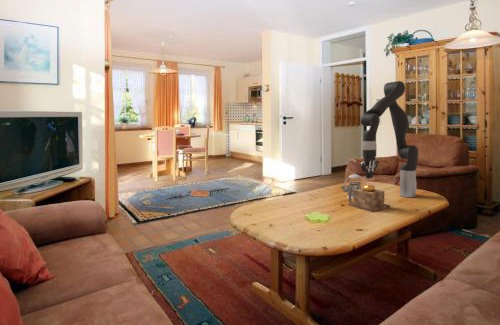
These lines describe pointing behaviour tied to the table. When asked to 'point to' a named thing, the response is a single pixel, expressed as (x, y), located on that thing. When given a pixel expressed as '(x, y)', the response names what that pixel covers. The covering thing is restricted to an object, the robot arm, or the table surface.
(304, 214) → the table surface
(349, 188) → the mechanical component
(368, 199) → the hitch block
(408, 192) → the robot arm
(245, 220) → the table surface
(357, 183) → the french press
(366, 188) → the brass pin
